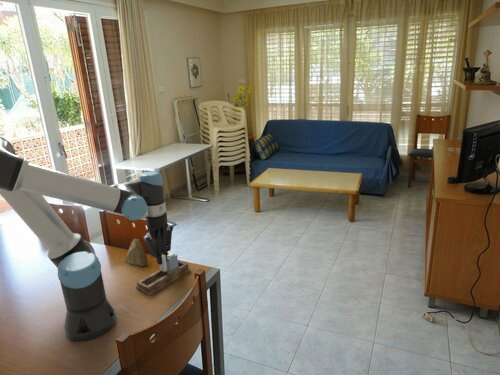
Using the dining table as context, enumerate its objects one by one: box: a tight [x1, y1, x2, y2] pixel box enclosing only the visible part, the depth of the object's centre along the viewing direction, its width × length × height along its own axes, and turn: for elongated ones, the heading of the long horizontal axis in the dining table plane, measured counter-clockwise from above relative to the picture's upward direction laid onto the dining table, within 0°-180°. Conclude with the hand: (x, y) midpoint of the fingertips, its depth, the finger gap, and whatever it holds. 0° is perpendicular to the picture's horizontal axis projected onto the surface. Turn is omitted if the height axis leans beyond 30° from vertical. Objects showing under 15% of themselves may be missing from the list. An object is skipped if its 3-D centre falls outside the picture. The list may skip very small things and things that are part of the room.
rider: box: [165, 251, 179, 274], centre depth 143 cm, size 4×3×8 cm
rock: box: [124, 237, 148, 267], centre depth 153 cm, size 11×9×10 cm
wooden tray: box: [135, 259, 191, 296], centre depth 141 cm, size 20×8×3 cm, turn 143°
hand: (163, 270), depth 140 cm, fingers closed
